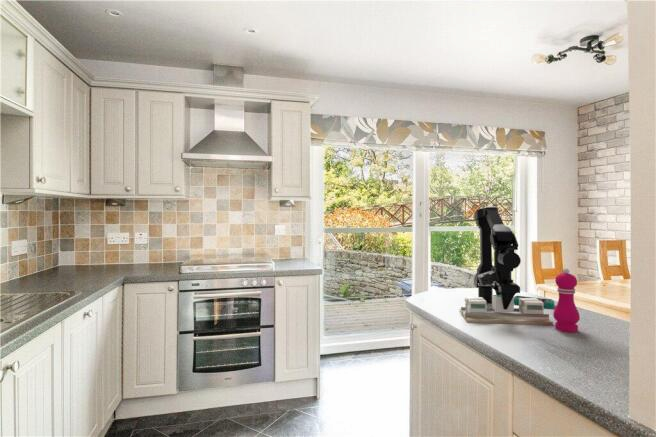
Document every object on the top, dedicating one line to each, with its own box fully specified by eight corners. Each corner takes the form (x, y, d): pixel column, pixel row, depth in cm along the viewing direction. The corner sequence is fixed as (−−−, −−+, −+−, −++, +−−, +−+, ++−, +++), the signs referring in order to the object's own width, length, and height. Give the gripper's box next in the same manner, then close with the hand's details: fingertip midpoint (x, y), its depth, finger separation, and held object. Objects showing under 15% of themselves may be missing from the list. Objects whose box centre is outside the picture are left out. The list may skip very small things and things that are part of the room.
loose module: (492, 308, 138) (492, 294, 138) (509, 308, 137) (509, 294, 137) (496, 311, 134) (495, 297, 133) (513, 312, 133) (513, 297, 132)
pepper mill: (571, 334, 116) (571, 270, 116) (548, 328, 123) (548, 268, 122) (584, 330, 120) (584, 269, 119) (561, 324, 126) (561, 266, 126)
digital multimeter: (553, 310, 146) (553, 302, 146) (511, 305, 155) (511, 298, 155) (554, 306, 152) (554, 299, 152) (514, 301, 161) (514, 294, 161)
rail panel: (459, 311, 145) (459, 294, 145) (536, 313, 140) (536, 296, 140) (467, 322, 131) (466, 303, 131) (553, 324, 126) (552, 305, 126)
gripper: (473, 261, 146) (474, 300, 146) (485, 268, 127) (486, 313, 128) (503, 261, 144) (504, 301, 144) (520, 268, 125) (521, 314, 126)
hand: (502, 307), depth 135 cm, fingers closed on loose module, 5 cm apart
